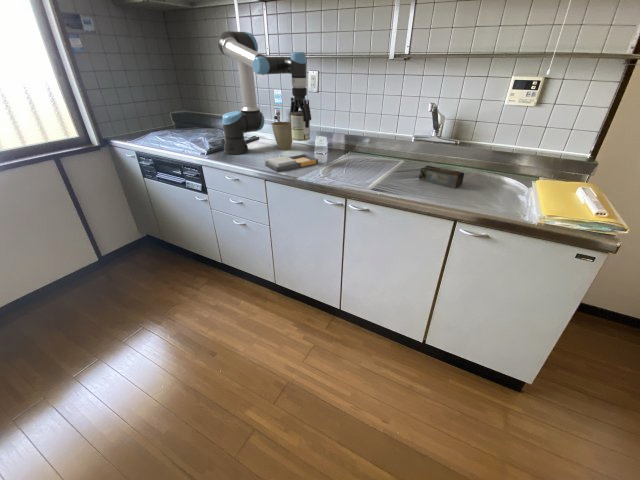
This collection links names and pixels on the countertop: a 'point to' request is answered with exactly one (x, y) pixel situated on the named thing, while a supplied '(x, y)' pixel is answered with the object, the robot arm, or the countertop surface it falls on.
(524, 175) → the countertop surface
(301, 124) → the coffee can
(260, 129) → the robot arm
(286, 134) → the plant pot
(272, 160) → the grey compartment tray
